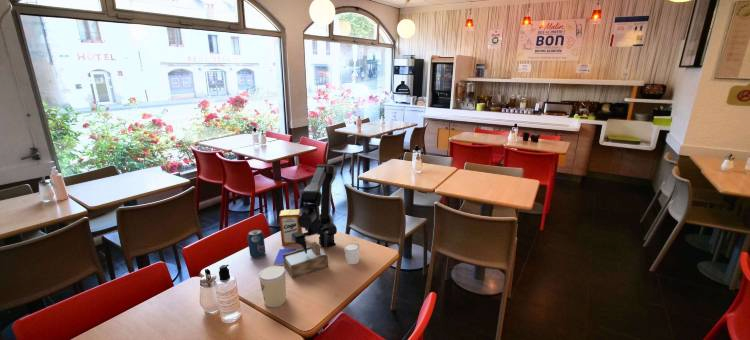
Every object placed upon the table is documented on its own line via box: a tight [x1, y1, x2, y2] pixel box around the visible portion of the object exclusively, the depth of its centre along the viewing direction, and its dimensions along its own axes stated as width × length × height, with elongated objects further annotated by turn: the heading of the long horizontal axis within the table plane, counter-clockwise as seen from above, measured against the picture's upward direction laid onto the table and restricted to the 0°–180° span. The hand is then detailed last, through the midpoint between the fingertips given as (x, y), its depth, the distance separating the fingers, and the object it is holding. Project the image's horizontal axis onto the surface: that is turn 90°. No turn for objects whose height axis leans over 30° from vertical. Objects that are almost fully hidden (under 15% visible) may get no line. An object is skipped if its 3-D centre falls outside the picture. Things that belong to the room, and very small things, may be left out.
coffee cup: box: [258, 265, 287, 308], centre depth 127 cm, size 9×9×12 cm
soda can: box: [247, 228, 266, 259], centre depth 159 cm, size 7×7×12 cm
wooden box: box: [283, 245, 329, 280], centre depth 149 cm, size 16×11×6 cm
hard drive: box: [272, 248, 298, 266], centre depth 158 cm, size 2×8×12 cm
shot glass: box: [343, 242, 361, 265], centre depth 153 cm, size 7×7×7 cm
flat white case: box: [285, 241, 326, 266], centre depth 148 cm, size 15×9×5 cm, turn 122°
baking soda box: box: [278, 208, 303, 246], centre depth 170 cm, size 10×6×16 cm
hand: (316, 250), depth 151 cm, fingers open, 9 cm apart
